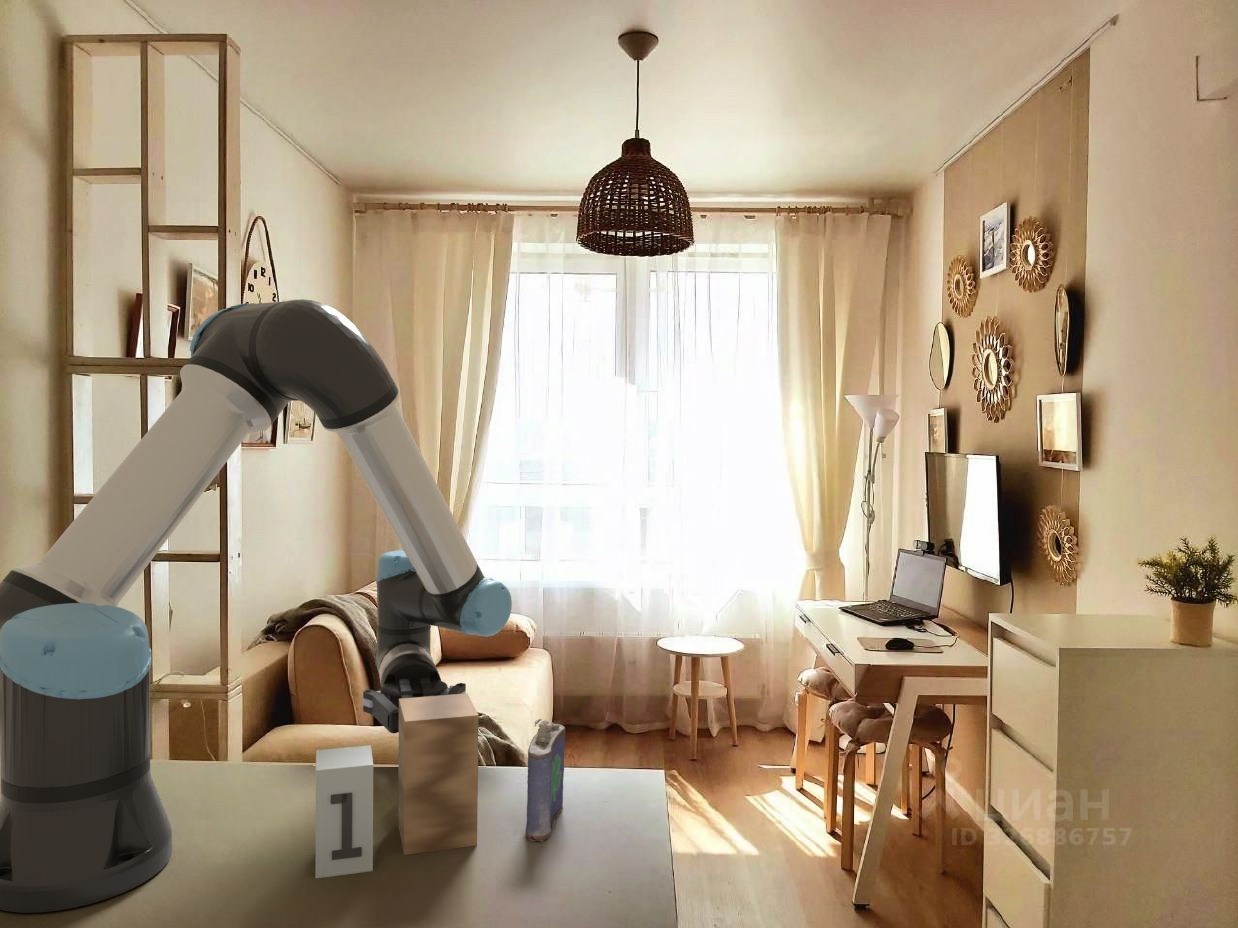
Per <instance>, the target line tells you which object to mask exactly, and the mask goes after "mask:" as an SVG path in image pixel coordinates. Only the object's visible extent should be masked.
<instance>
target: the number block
mask: <svg viewBox="0 0 1238 928" xmlns="http://www.w3.org/2000/svg"><path fill="white" fill-rule="evenodd" d="M315 751H316V753H315V879H321V878H328V877H335V876H345V875H352V874H358V873H359V874H360V873H367V872H373V870H374V867H373V865H374V862H373V861H374V859H373V858H374V760H373V754H372V753H373V752H372V745H370V744H369V745H358V746H350V747H349V746H347V747H337V748H328V749H327V748H326V749H316V750H315Z"/></svg>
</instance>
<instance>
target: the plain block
mask: <svg viewBox="0 0 1238 928" xmlns="http://www.w3.org/2000/svg"><path fill="white" fill-rule="evenodd" d="M479 716H480V715H479V713H478V711H477V709H476V707H475V706H474V704H473V701H472V700H471V697H470V695H469V694H468V693H467V692H466V694H453V695H440V696H428V697H415V698H402V699H399V732H398V756H397V758H398V760H397V761H398V768H397V771H398V772H397V773H398V775H397V776H398V777H397V778H398V779H397V782H398V785H397V788H398V790H397V792H398V793H397V794H398V795H397V805H398V806H397V824H398V830H399V836H400V839H401V840H400V841H401V846H402V851H403V856H405V855H412V854H419V853H428V852H434V851H445V850H450V849H457V848H464V847H465V848H466V847H472V846H477V845H478V804H479V803H478V802H479V801H478V797H479V796H478V795H479V794H478V792H479V791H478V790H479V789H478V787H479V786H478V785H479V782H478V781H479V723H480V722H479Z"/></svg>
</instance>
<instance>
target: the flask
mask: <svg viewBox="0 0 1238 928" xmlns="http://www.w3.org/2000/svg"><path fill="white" fill-rule="evenodd" d="M537 725H538V727H539V728H538V729H537V732H536V734H535V735H534V736H533V737H532V739H531V741H530V744H529V747H528V749H527V781H526V782H527V783H526V784H527V789H526V790H527V791H526V793H527V796H526V797H527V800H526V826H525V836H526V839H528V840H529V841H531V842H536V841H537V842H538V841H539V842H541V843H542V842H544V841H545V840H546V839H549V838H550V836H552V830H553V829H554V828H555V826H556V823H557V822H556V819H558V818H559V817H558V815H559V814H561V811H562V810H563V809H564V807H563V806H564V805H563V804H564V775H565V741H566V740H565V739H566V727H565V726H564V725H563V724H559V723H554V722H551V723H550V722H549V721H548V720H547V719H541V718H538V719H537V720H535V721H534V727H537Z"/></svg>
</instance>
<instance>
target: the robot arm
mask: <svg viewBox="0 0 1238 928" xmlns="http://www.w3.org/2000/svg"><path fill="white" fill-rule="evenodd" d="M189 345H190V346H189V351H190V358H189V359H188V360H187V362H186V363H184V365H183V366H182V367H181V369H180V371H179V375H180V379H181V384H182V389H181V391H180V392H179V393H178V395H177V396H176V397H175V398H174V400H173V401H172V402H171V403H170V404H169V406H168V407H167V408H166V409H165V410H164V412H163V413H161V415H160V416H159V418H158V419H157V420H156V421H155V423H154V424H152V426H151V427H150V428H149V429H148V431H147V432H146V433H145V434H144V436H142V438H141V439H140V441H138V443H136V445H135V446H134V448H132V450H131V451H130V452H129V454H128V455H127V456H126V457H125V459H124V460H123V461H122V462H121V463H120V464H119V466H118V467H117V468H116V469H115V470H114V472H113V473H112V474H111V475H110V477H108V479H107V480H106V482H105V483H104V484H102V486H101V487H100V488H99V490H98V491H97V492H96V493H95V495H94V496H93V497H92V498H91V500H90V501H88V503H87V504H86V505H85V507H84V508H83V509H82V510H81V511H80V513H78V515H77V516H76V517H75V519H74V520H73V521H72V522H71V523H70V524H69V526H68V527H67V528H66V529H65V531H64V532H63V533H62V534H61V535H60V537H59V538H58V539H57V540H56V541H55V542H54V544H53V545H52V546H51V547H50V549H49V550H48V551H46V554H45V555H44V556H43V557H42V558H41V559H40V560H39V561H38V562H35V563H32V564H26V565H21V566H17V567H13V568H12V569H11V570H10V571H9V572H8V573H7V575H6V576H4V578H3V579H2V580H1V582H0V791H1V792H0V793H1V794H0V910H1V911H5V912H11V913H23V914H24V913H25V914H27V913H28V914H30V913H31V914H32V913H46V912H56V911H58V912H59V911H64V910H68V909H74V908H78V907H80V908H81V907H82V906H83V907H84V906H87V905H88V906H89V905H92V904H95V903H98V902H101V901H104V900H107V899H110V898H114V897H115V896H118V895H120V894H123V893H125V892H127V891H128V892H129V890H132V889H134V888H136V887H139V886H140V885H141V884H143V883H145V882H147V881H149V880H150V879H151V878H153V877H154V876H156V874H158V873H159V872H160V871H161V870H162V869H163V868H165V866H167V864H168V862H169V861H170V858H171V856H172V853H173V833H172V832H173V830H172V826H171V822H170V820H169V818H168V815H167V812H166V809H165V807H164V805H163V803H162V799H161V797H160V794H159V793H158V789H157V787H156V785H155V781H154V779H153V777H152V773H151V667H152V660H153V659H152V649H151V647H150V642H149V641H150V639H149V632H148V628H147V624H146V623H145V622H144V620H143V619H142V617H140V616H139V615H138V614H135V613H134V612H133V611H130V610H128V609H126V608H124V607H119V606H118V605H119V604H120V602H121V601H122V600H123V599H124V597H125V595H126V594H127V593H128V592H129V590H130V589H131V588H132V586H133V585H134V584H135V583H136V581H137V580H138V579H139V577H140V576H141V574H143V572H144V570H145V569H146V568H147V567H148V566H149V564H150V563H151V562H152V560H153V559H154V557H155V556H156V555H157V553H159V551H160V550H161V548H162V547H163V546H164V544H165V543H166V542H167V540H168V539H169V538H170V537H171V535H172V534H173V533H174V531H175V530H176V529H177V527H178V526H179V525H180V523H181V522H182V521H183V519H184V518H185V517H186V516H187V514H188V513H189V512H190V510H191V509H193V506H195V504H196V502H197V501H198V500H199V499H200V498H201V496H202V494H203V493H204V492H205V491H206V490H207V488H208V487H209V486H210V484H211V483H212V482H213V480H214V479H215V478H216V476H217V475H218V474H219V472H220V471H221V470H222V469H223V467H224V465H226V463H227V462H228V460H230V458H231V457H232V455H233V454H234V453H235V452H236V450H237V449H238V447H239V446H240V445H241V443H243V441H244V440H245V438H246V437H247V436H248V434H251V433H257V432H258V433H259V432H260V433H261V432H266V431H268V429H270V428H271V426H272V425H273V423H274V422H275V421H276V419H277V418H278V417H279V415H280V414H281V413H282V412H283V410H284V408H285V407H287V405H288V404H289V403H290V402H291V401H293V402H294V401H295V402H296V401H300V402H301V403H303V404H305V405H306V406H308V407H309V408H310V409H311V410H312V411H313V412H314V414H315V415H316V416H317V418H318V420H319V422H320V424H321V425H322V426H323V428H324V429H325V430H326V431H328V432H333V433H336V434H337V435H338V437H339V439H340V441H341V442H342V445H343V446H344V447H345V449H346V451H347V453H348V455H349V456H350V458H351V460H352V462H353V464H354V466H355V467H356V469H357V470H358V472H359V474H360V476H361V478H362V480H363V481H364V483H365V485H366V486H367V488H368V490H369V491H370V493H371V494H370V495H371V496H372V497H373V499H374V500H375V502H376V505H377V506H378V507H379V509H380V512H381V513H382V515H383V516H384V519H385V520H386V522H387V524H388V526H389V528H390V529H391V531H392V533H393V534H394V535H395V536H394V537H395V539H397V541H398V543H399V545H400V547H401V549H402V550H401V549H400V550H391V551H387V552H384V553H382V554H381V556H379V558H378V562H377V579H376V581H375V583H376V596H377V598H376V603H377V604H376V607H377V608H376V609H377V613H376V614H377V619H376V620H377V628H376V647H375V650H374V657H375V658H374V663H375V664H374V665H375V667H376V668H377V672H378V675H379V676H378V677H379V682H380V687H381V688H380V689H379V690H377V691H376V690H373V689H368V688H367V689H365V690H363V691H362V711H363V712H364V713H367V714H370V715H372V716H373V717H374V718H375V719H376V720H377V721H378V722H379V724H381V725H382V726H383V727H384V728H385V729H386V730H387V732H389V733H391V734H399V699H402V698H415V697H428V696H440V695H453V694H466V693H467V691H466V690H467V685H466V683H463V682H459V683H457V684H454V685H449V686H448V683H447V682H445V681H442V679H441V676H440V674H439V671H438V669H437V666H436V663H435V662H434V660H433V657H432V655H431V642H432V641H431V634H432V633H431V628H432V626H433V627H438V628H441V629H445V630H449V631H453V632H458V633H461V634H464V635H467V636H472V635H473V636H481V637H492V636H495V635H496V634H498V633H499V632H501V630H503V628H504V626H506V624H507V623H508V621H509V619H510V616H511V613H512V607H513V602H512V594H511V592H510V590H509V588H508V587H507V586H506V585H505V584H504V583H503V582H500V581H497V580H495V579H493V578H491V577H488V578H486V576H484V573H483V571H482V569H481V568H480V566H479V564H478V562H477V560H476V558H475V556H474V554H473V552H472V551H471V549H470V546H469V544H468V542H467V541H466V539H465V536H464V534H463V532H462V531H461V529H460V527H459V525H458V522H457V520H456V519H455V517H454V515H453V513H452V511H451V510H450V507H449V505H448V503H447V501H446V499H445V497H444V495H443V493H442V492H441V489H440V487H439V485H438V484H437V482H436V480H435V477H434V476H433V474H432V472H431V470H430V468H429V466H428V463H427V462H426V460H425V458H424V456H423V454H422V453H421V450H420V449H419V446H418V444H417V443H416V440H415V438H414V437H413V434H412V432H411V431H410V428H409V427H408V424H407V423H406V421H405V420H404V417H403V415H402V412H401V411H400V409H399V408H398V406H397V403H398V399H399V397H400V391H399V389H398V386H397V385H396V383H395V381H394V379H393V377H392V375H391V373H390V372H389V369H388V368H387V365H386V364H385V363H384V361H383V359H382V358H381V356H380V355H379V353H378V352H377V350H376V349H375V348H374V346H373V345H372V343H371V342H370V340H369V339H368V338H367V337H366V336H365V334H364V333H363V332H362V331H361V330H360V329H359V328H358V327H357V326H356V325H355V323H353V322H352V321H351V320H350V319H348V317H347V316H345V315H344V314H343V313H342V312H340V311H338V310H337V309H336V308H334V307H331V306H330V305H327V304H325V303H322V302H320V301H316V300H313V299H290V300H286V301H273V302H272V301H271V302H261V303H253V302H252V303H238V304H235V305H231V306H230V307H226V308H224V309H221V310H218V311H216V312H214V313H212V314H211V315H209V316H208V317H207V318H205V319H204V320H203V321H202V322H201V323H200V325H199V326H198V327H197V329H196V330H195V332H194V334H193V337H192V339H191V341H190V344H189Z"/></svg>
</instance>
